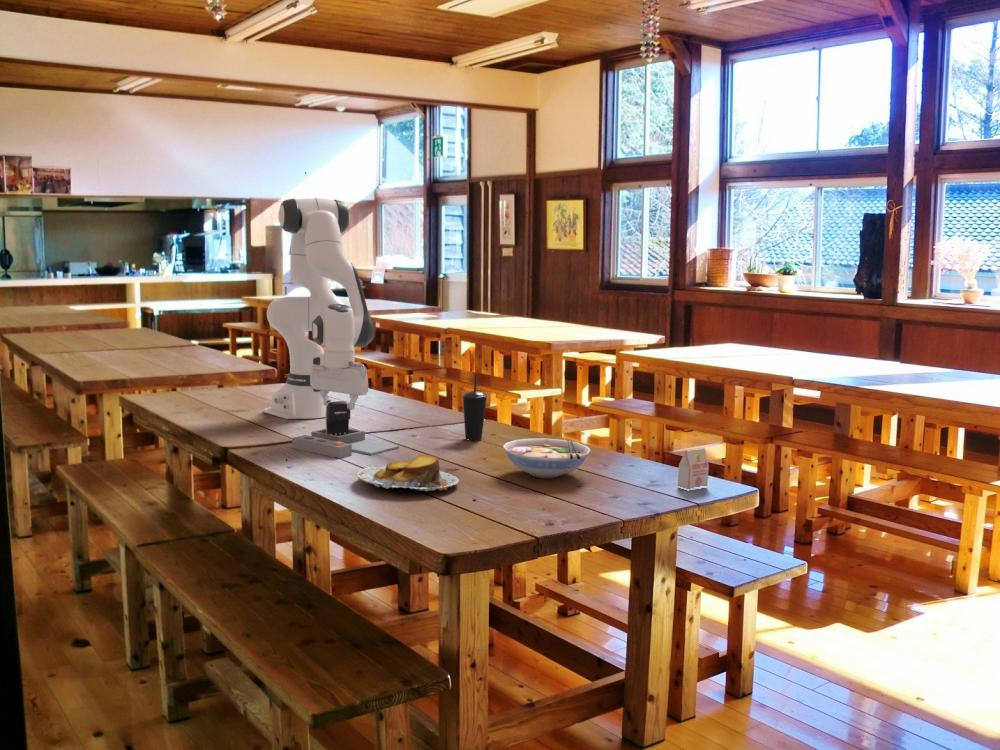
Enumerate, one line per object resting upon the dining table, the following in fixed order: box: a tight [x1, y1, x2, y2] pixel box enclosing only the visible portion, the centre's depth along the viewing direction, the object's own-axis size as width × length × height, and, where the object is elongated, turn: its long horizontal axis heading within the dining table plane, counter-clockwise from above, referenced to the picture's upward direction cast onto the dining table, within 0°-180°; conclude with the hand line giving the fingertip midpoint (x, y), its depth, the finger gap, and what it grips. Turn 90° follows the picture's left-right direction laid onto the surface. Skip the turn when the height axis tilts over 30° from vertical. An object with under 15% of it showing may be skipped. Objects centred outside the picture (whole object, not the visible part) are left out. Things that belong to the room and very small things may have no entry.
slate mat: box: [351, 439, 400, 456], centre depth 276 cm, size 12×12×1 cm
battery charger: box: [325, 400, 351, 436], centre depth 284 cm, size 7×4×11 cm, turn 120°
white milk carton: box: [677, 448, 710, 489], centre depth 244 cm, size 4×7×10 cm, turn 123°
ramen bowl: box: [502, 437, 591, 479], centre depth 252 cm, size 25×23×8 cm
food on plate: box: [356, 454, 460, 492], centre depth 238 cm, size 25×25×7 cm
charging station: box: [291, 427, 366, 459], centre depth 277 cm, size 22×22×4 cm
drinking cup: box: [461, 373, 488, 441], centre depth 291 cm, size 8×8×20 cm
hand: (338, 407), depth 283 cm, fingers open, 8 cm apart
